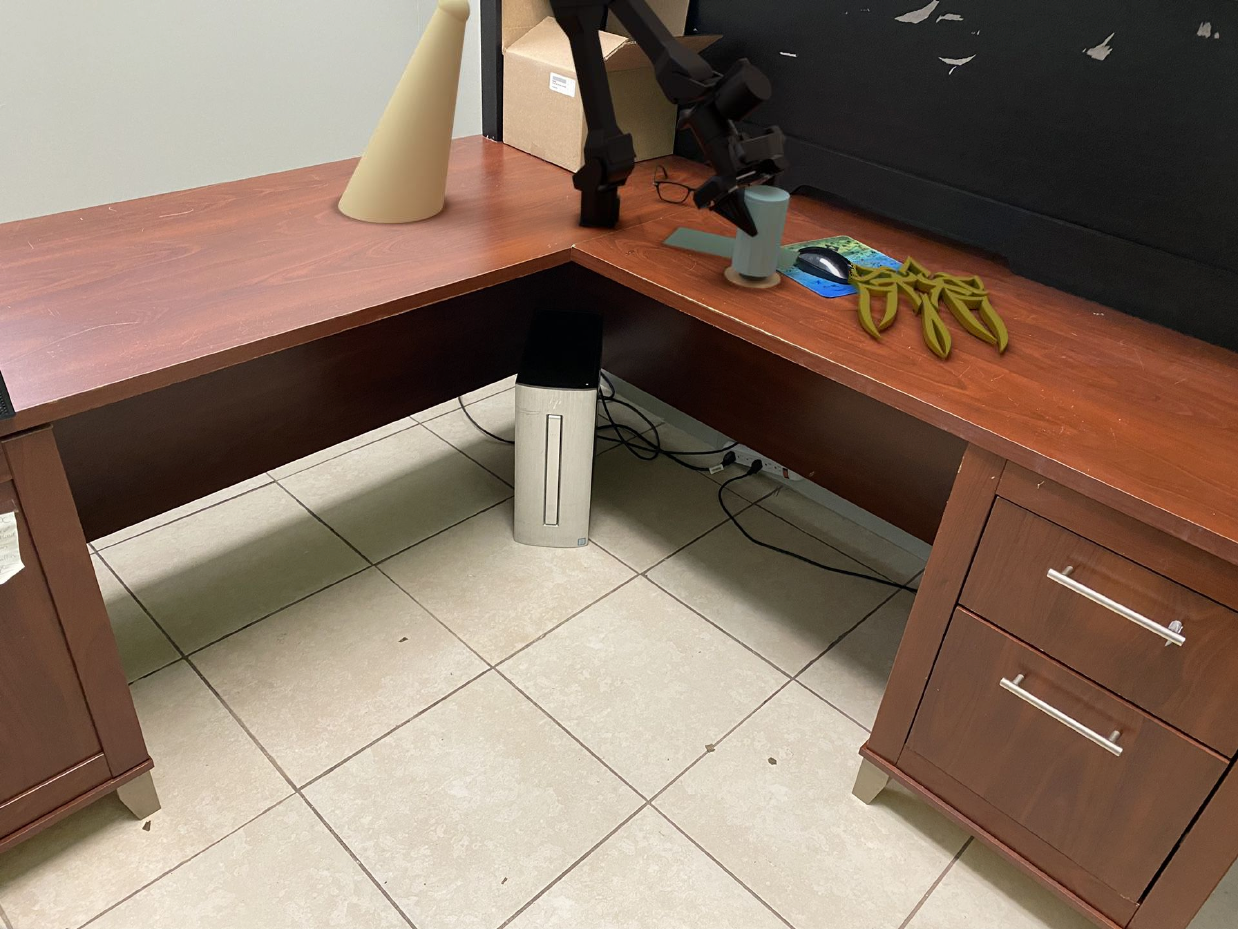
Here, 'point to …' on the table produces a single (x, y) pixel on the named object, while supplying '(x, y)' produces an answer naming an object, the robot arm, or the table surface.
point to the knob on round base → (751, 279)
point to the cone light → (414, 130)
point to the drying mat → (720, 245)
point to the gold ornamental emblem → (927, 302)
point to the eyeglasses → (670, 183)
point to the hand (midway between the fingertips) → (768, 230)
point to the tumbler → (761, 231)
